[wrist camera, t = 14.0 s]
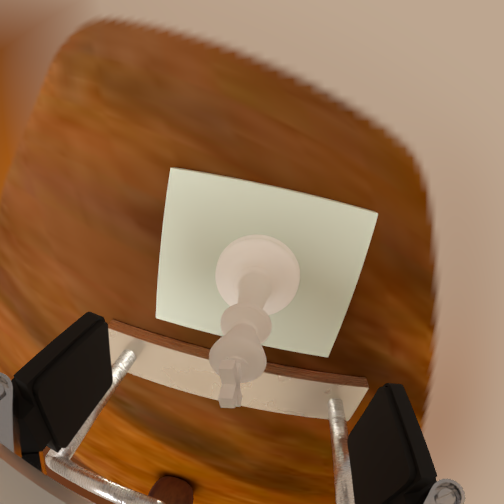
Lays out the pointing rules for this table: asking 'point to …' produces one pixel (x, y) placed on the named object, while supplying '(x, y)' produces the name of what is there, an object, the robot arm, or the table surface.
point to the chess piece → (249, 308)
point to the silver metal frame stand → (208, 385)
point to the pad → (263, 223)
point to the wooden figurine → (172, 491)
